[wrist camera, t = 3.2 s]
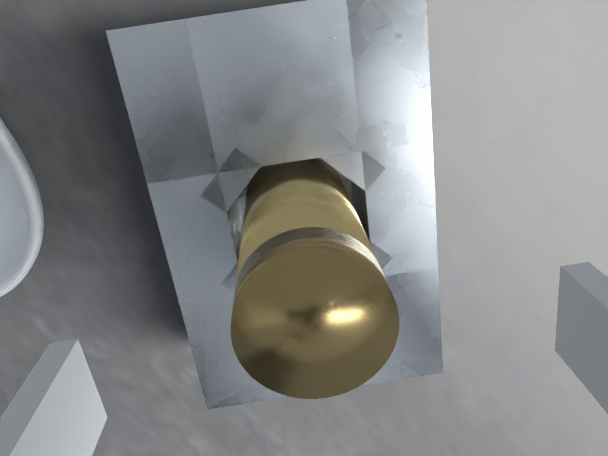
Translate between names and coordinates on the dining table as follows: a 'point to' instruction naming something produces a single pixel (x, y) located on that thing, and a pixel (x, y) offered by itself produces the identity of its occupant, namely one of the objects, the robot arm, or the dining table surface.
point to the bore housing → (286, 153)
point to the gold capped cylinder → (308, 286)
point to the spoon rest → (17, 214)
